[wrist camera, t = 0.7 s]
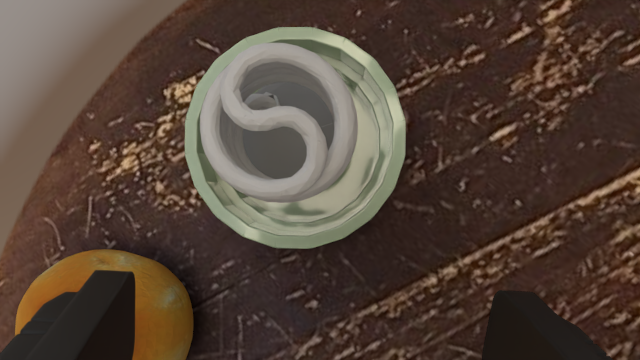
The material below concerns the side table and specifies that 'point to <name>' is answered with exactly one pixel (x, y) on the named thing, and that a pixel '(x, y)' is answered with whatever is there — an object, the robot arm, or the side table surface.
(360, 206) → the bowl
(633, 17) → the side table surface
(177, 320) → the fruit
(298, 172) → the light bulb
